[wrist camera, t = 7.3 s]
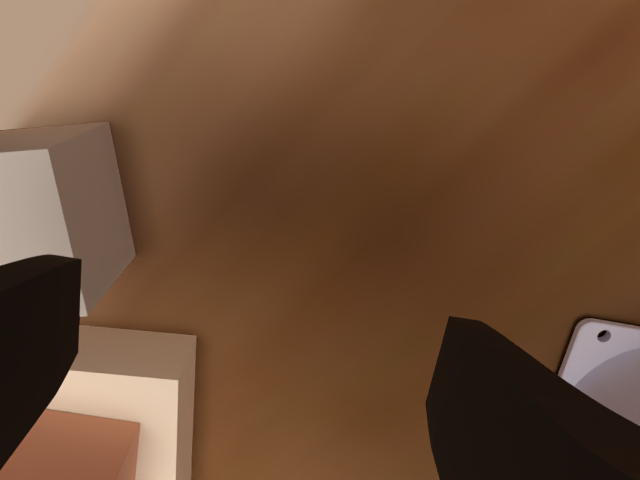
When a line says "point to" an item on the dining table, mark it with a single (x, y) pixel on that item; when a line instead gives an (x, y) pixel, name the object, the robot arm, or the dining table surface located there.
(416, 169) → the dining table surface
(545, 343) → the dining table surface
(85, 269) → the grey cube
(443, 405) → the robot arm
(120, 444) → the terracotta cube
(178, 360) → the cream block
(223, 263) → the dining table surface
